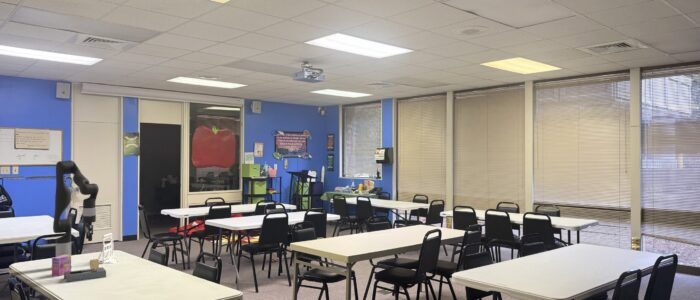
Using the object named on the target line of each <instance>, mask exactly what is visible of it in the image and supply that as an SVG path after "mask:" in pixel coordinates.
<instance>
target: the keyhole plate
mask: <svg viewBox="0 0 700 300" xmlns="http://www.w3.org/2000/svg"><path fill="white" fill-rule="evenodd" d="M106 277H107V270H106V269H105V268H104V267H99V268H96V271H93V269H91V268H87V269H80V270H78V269H77V270H71V271H69V272H64V275H63V279H64V280H65V282H66V283H73V282H80V281H86V280H93V279H101V278H106Z"/></svg>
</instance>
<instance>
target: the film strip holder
mask: <svg viewBox="0 0 700 300" xmlns="http://www.w3.org/2000/svg"><path fill="white" fill-rule="evenodd" d="M109 238H110V242H109V243H105V240H106V239H109ZM109 253H110V255H109ZM108 255H109V256H108ZM101 256H102V261H100V257H101ZM97 259H98V260H99V265H100V264H115V263H117V262H119V261H122V260H123V259H122V258H114V232H110V233H107V234H103V235H102V248H101V252H100V254H99V255H98V258H97Z"/></svg>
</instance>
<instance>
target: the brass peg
mask: <svg viewBox="0 0 700 300" xmlns="http://www.w3.org/2000/svg"><path fill="white" fill-rule="evenodd" d="M99 262H100V259H99V260H98V258H96V259H94V258H93V259H89V269H93V271H96V268H100V264H99Z"/></svg>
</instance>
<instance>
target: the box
mask: <svg viewBox="0 0 700 300" xmlns="http://www.w3.org/2000/svg"><path fill="white" fill-rule="evenodd" d="M69 271H72V254H71V255H61V256H57V257H56V256H55V257H51V277H61V276H64V272H69Z"/></svg>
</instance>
